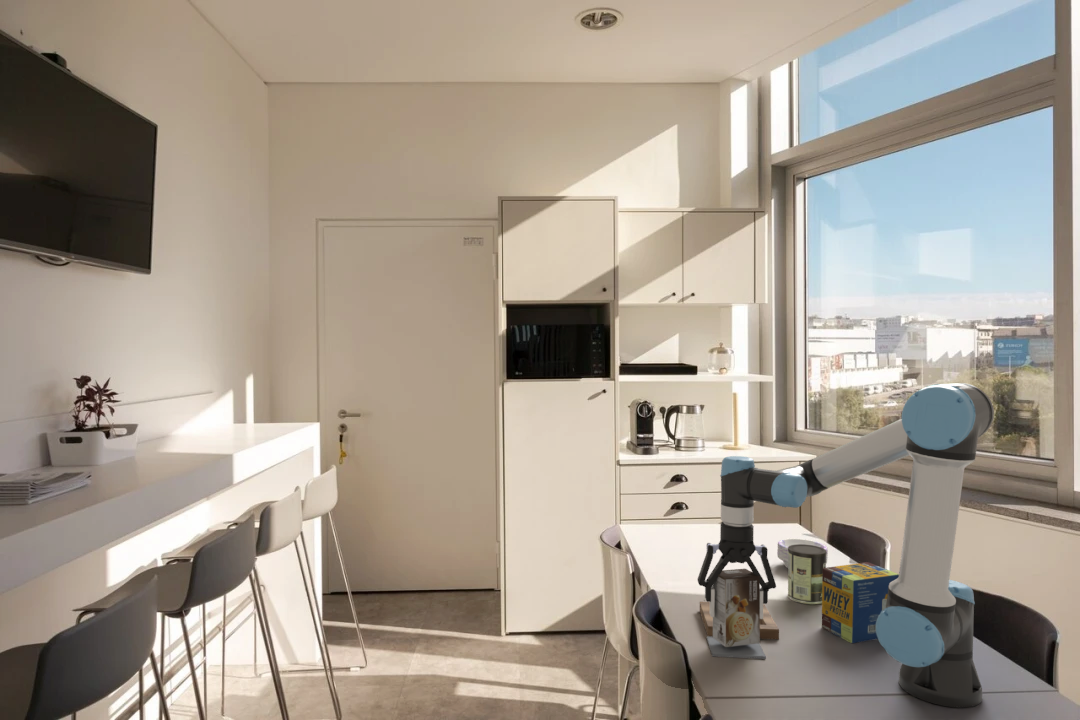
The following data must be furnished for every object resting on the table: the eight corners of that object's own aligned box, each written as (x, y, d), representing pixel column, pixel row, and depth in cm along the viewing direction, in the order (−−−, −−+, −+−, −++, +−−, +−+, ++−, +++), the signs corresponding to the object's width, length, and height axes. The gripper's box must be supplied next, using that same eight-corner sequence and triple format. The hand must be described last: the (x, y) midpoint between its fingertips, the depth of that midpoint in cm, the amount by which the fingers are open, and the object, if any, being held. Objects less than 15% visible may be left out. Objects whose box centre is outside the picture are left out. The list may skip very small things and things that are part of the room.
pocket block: (778, 639, 174) (779, 629, 174) (707, 636, 176) (708, 626, 176) (764, 613, 191) (764, 604, 191) (699, 610, 193) (699, 601, 193)
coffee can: (822, 593, 207) (822, 545, 207) (829, 606, 197) (829, 555, 197) (784, 590, 209) (785, 542, 209) (789, 603, 199) (790, 552, 199)
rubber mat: (765, 659, 163) (765, 656, 163) (712, 656, 164) (712, 653, 164) (757, 641, 173) (757, 638, 173) (706, 638, 174) (706, 636, 174)
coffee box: (745, 633, 173) (746, 567, 173) (760, 644, 167) (761, 575, 166) (711, 637, 170) (712, 570, 170) (725, 648, 164) (726, 578, 164)
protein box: (820, 628, 181) (821, 567, 181) (867, 620, 187) (868, 561, 187) (851, 644, 172) (852, 580, 171) (900, 635, 177) (901, 573, 177)
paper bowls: (838, 572, 226) (838, 547, 226) (800, 578, 220) (800, 552, 220) (803, 559, 240) (804, 535, 240) (767, 564, 234) (767, 540, 234)
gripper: (783, 520, 171) (782, 612, 171) (685, 517, 173) (685, 608, 173) (791, 528, 163) (789, 624, 164) (689, 525, 165) (688, 619, 166)
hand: (735, 615), depth 168 cm, fingers closed on coffee box, 10 cm apart
